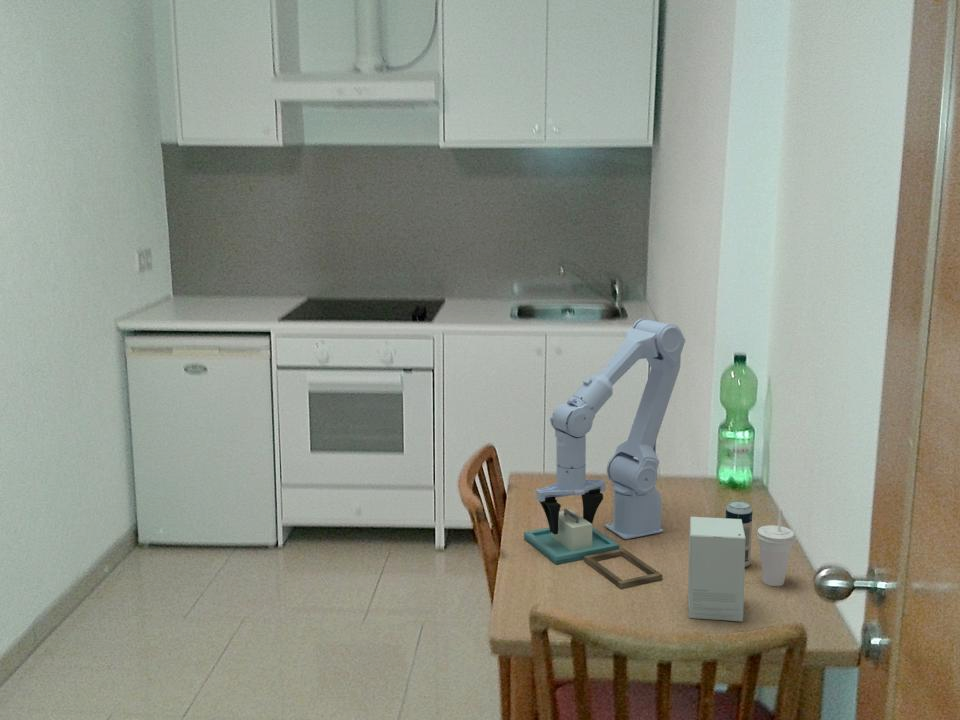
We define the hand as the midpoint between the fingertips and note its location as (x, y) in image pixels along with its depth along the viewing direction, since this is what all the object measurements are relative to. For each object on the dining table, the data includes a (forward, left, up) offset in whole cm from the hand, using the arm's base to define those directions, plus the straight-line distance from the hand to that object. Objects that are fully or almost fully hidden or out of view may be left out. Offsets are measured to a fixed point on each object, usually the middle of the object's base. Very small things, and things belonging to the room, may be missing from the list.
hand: (570, 529), depth 187 cm
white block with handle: (0, 0, -3) cm, 3 cm away
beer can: (-24, +22, -4) cm, 32 cm away
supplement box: (-9, +34, -4) cm, 36 cm away
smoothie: (-25, +30, -4) cm, 40 cm away
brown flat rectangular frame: (-3, +14, -3) cm, 15 cm away
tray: (0, 0, -3) cm, 3 cm away
